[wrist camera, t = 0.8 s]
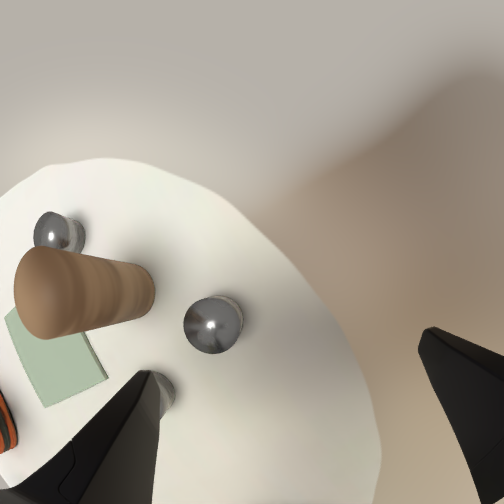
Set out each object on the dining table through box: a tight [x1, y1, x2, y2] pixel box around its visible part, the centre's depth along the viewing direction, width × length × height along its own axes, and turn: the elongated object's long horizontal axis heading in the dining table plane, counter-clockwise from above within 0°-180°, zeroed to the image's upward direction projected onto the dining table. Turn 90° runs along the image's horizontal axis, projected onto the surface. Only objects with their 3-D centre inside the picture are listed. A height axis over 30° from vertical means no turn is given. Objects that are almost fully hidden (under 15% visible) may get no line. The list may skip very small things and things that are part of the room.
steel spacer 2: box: [153, 372, 175, 419], centre depth 20 cm, size 4×4×4 cm
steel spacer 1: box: [33, 212, 85, 254], centre depth 22 cm, size 4×4×4 cm
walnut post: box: [14, 246, 155, 340], centre depth 17 cm, size 5×5×12 cm
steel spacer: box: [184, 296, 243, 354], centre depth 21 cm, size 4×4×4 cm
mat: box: [4, 306, 108, 408], centre depth 22 cm, size 12×12×1 cm
